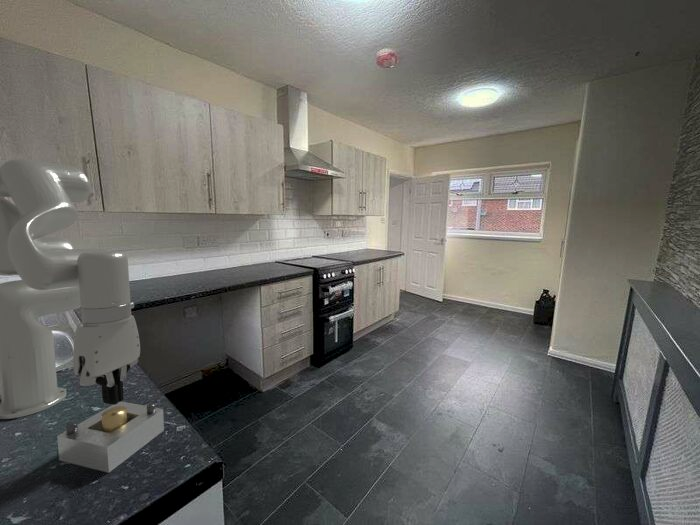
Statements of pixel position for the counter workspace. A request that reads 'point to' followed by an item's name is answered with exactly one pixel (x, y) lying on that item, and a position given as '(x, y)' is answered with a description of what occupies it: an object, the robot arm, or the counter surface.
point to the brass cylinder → (114, 419)
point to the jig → (110, 437)
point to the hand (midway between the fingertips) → (113, 401)
